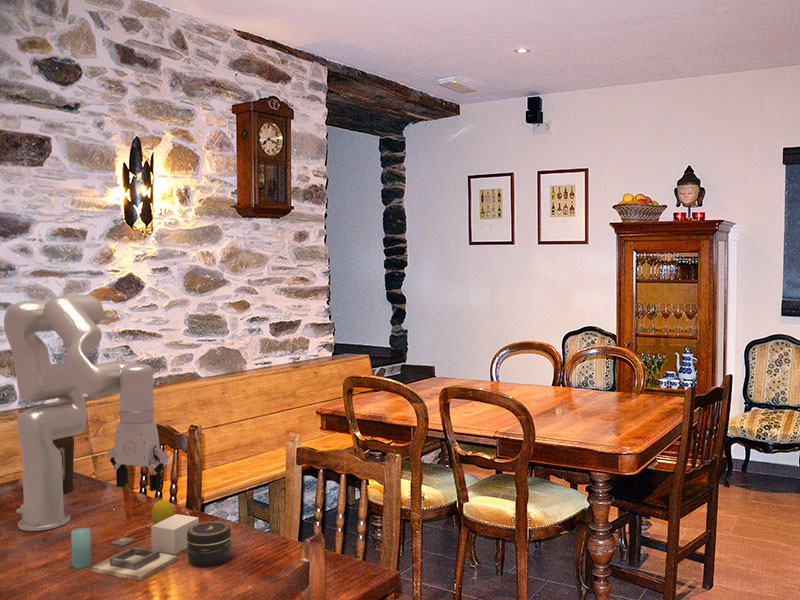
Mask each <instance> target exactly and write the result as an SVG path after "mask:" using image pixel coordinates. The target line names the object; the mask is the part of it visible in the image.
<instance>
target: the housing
mask: <svg viewBox="0 0 800 600" xmlns="http://www.w3.org/2000/svg"><path fill="white" fill-rule="evenodd" d="M199 521H200V520H199V516H198V517H197V516H191V515H183V514H177V513H174V515H173V516H171V517H169V518H167V519H165V520H163V521H161V522H159V523H157V524H153V525H151V526H150V532H151V533H150V535H151V550H155V551H159V553H163V554H169V555H174V554H175V555H177V554H179V553H181V552H183V551H184V550H186V549H188V543H187V531H188V529H189V528H190V527H191V526H193V525H195V524H198V523H200V522H199ZM182 550H183V551H182ZM180 551H181V552H180Z"/></svg>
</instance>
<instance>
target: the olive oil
mask: <svg viewBox="0 0 800 600" xmlns="http://www.w3.org/2000/svg"><path fill="white" fill-rule="evenodd" d="M53 444H54V445H55V446H56V448H57V449H58V450H59V451H60V453H61V456H62V475H63V495H65V494H68V493H70V492H73V490H74V466H75V465H74V462H75V461H74V460H75V459H74V458H75V457H74V455H75V453H74V452H75V439H74V435H73V436H69V437H64V438H60V439H56V440H53Z"/></svg>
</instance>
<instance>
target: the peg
mask: <svg viewBox="0 0 800 600" xmlns="http://www.w3.org/2000/svg"><path fill="white" fill-rule="evenodd" d="M70 535H71V556H72V557H71V561H72V562H71V566H72V568H73V567H74V568H73V569H84V567H85V568H88V567H90V566H91V565H92V544H91V543H92V540H91V528H90V527H79V528H74V529H73V530H71V534H70ZM87 566H88V567H87Z"/></svg>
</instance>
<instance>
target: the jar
mask: <svg viewBox="0 0 800 600" xmlns="http://www.w3.org/2000/svg"><path fill="white" fill-rule="evenodd" d="M187 543H188V548H187V557H188V560H189V563H190V564H191V563H192V564H193V565H192V564H191V565H192V566H194V565H195V566H194V567H197V566H198V568H211V567H210V566H213V567H217V566H216V565H218V566H220V564H221V565H223V564H225V563H226V562H227V561H228V560H229V559H230V557H231V552H232V530H231V525H230V524H229V523H227V522H225V521H219V520H218V521H217V520H211V521H210V520H208V521H202V522H199V523H198V524H195V525H193V526H191V527H190V528H189V529H188V531H187ZM224 562H225V563H224Z"/></svg>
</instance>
